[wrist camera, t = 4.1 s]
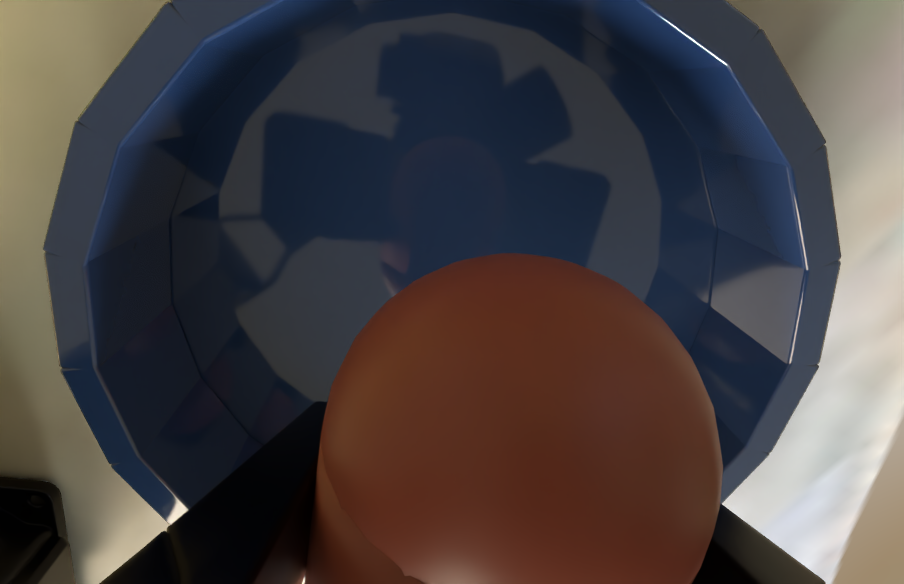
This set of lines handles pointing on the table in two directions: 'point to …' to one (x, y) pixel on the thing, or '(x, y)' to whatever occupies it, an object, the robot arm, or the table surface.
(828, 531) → the table surface
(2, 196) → the table surface
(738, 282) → the pot
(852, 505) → the table surface
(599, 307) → the potato
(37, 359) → the table surface
